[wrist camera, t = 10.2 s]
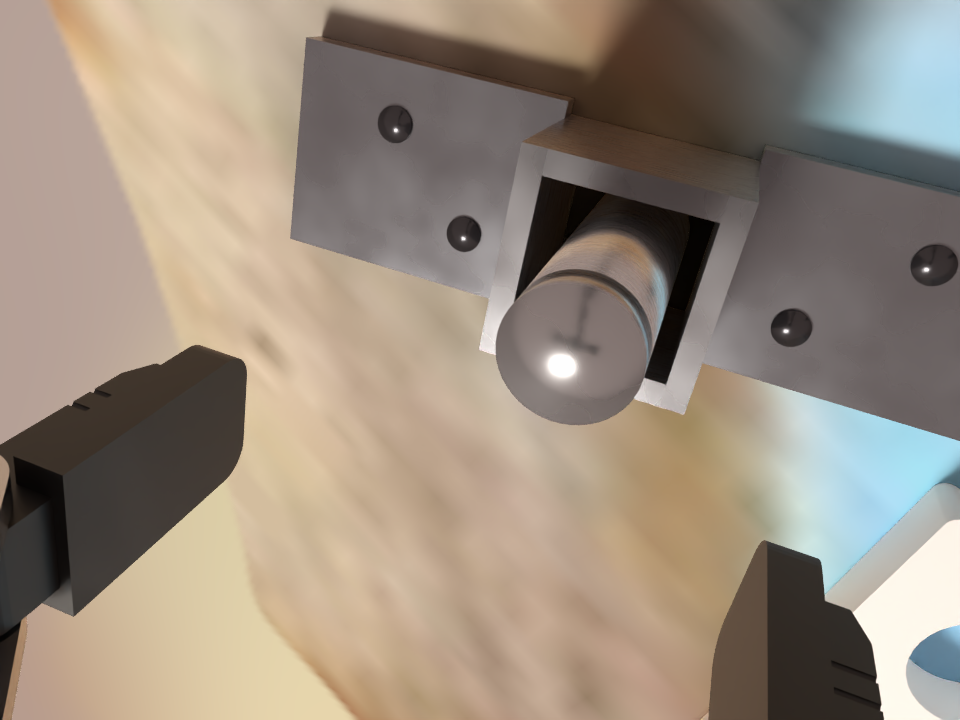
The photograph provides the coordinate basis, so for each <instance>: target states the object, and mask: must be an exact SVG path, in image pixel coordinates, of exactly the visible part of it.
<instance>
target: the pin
mask: <svg viewBox="0 0 960 720" xmlns="http://www.w3.org/2000/svg"><path fill="white" fill-rule="evenodd" d="M689 232H690V223H689V217H688V214H684V213H680V212H676V211H673V210H669V209H665V208H661V207H658V206H654V205H650V204H646V203H643V202H639V201H635V200H631V199H628V198H624V197H620V196H616V195H612V194H609V193H606V194H605V195H604V197H603V198H602V199H601V200H600V201H599V202H598V204H597V205H596V206H595V207H594V208H593V210H592V211H591V212H590V213H589V214H588V215H587V217H586V218H585V219H584V220H583V221H582V223H581V224H580V225H579V226H578V227H577V229H576V230H575V231H574V232H573V233H572V234H571V236H570V237H569V238H568V239H567V240H566V242H565V243H564V244H563V245H562V246H561V248H560V249H559V250H558V251H557V252H556V253H555V255H554V256H553V257H552V258H551V259H550V261H549V262H548V263H547V264H546V265H545V267H544V268H543V269H542V270H541V271H540V272H539V274H538V275H537V276H536V277H535V278H534V280H533V281H532V282H531V283H530V284H529V286H528V287H527V288H526V289H525V290H524V291H523V293H522V294H521V295H520V296H519V297H518V299H517V300H516V301H515V302H514V303H513V305H512V306H511V307H510V308H509V309H508V311H507V312H506V314H505V315H504V317H503V319H502V321H501V323H500V325H499V329H498V332H497V337H496V360H497V364H498V368H499V371H500V374H501V376H502V379H503V380H504V382H505V384H506V386H507V387H508V389H509V390H510V391H511V393H512V394H513V395H514V396H515V397H516V399H517V400H518V401H519V402H520V403H522V404H523V405H524V406H525V407H526V408H528V409H529V410H531V411H532V412H534V413H535V414H537V415H539V416H541V417H543V418H545V419H548V420H550V421H554V422H557V423H561V424H568V425H587V424H593V423H597V422H601V421H603V420H606V419H608V418H610V417H612V416H614V415H616V414H617V413H619V412H620V411H622V410H623V409H624V408H625V407H626V406H627V405H628V404H630V402H631V401H632V400H633V399H634V397H635V396H636V394H637V393H638V391H639V389H640V387H641V385H642V382H643V379H644V376H645V373H646V370H647V367H648V364H649V361H650V358H651V355H652V351H653V348H654V345H655V342H656V339H657V336H658V333H659V330H660V326H661V323H662V320H663V317H664V314H665V311H666V308H667V305H668V302H669V298H670V295H671V292H672V289H673V286H674V283H675V280H676V277H677V274H678V270H679V267H680V264H681V261H682V258H683V255H684V252H685V249H686V246H687V242H688V238H689Z"/></svg>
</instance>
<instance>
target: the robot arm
mask: <svg viewBox="0 0 960 720" xmlns="http://www.w3.org/2000/svg"><path fill="white" fill-rule="evenodd" d="M246 381H247V370H246V366H245V363H244V362H243V361H242V360H241V359H239V358H236V357H233V356H230V355H227V354H224V353H221V352H218V351H215V350H212V349H209V348H206V347H203V346H201V345H194V346H191V347H189V348H188V349H186V350H184V351H183V352H181V353H179V354H178V355H176V356H175V357H173V358H172V359H170V360H168V361H167V362H165V363H163V364H162V365H159V364H153V365H149V366H146V367H142V368H139V369H135V370H131V371H128V372H124V373H121V374H119V375H118V376H116V377H114V378H113V379H111V380H109V381H108V382H106V383H104V384H102V385H101V386H99V387H97V388H96V389H95V391H94V393H91V392H89V393H87V394H85V395H84V396H82V397H80V398H79V399H77V400H75V401H74V402H73V405H72V406H69V405H67V406H65V407H63V408H62V409H60V410H58V411H57V412H55V413H53V414H52V415H50V416H48V417H46V418H45V419H43V420H41V421H40V422H38V423H36V424H35V425H33V426H31V427H30V428H28V429H26V430H25V431H23V432H21V433H19V434H18V435H16V436H14V437H13V438H11V439H9V440H8V441H6V442H4V443H3V444H1V445H0V720H12V715H13V710H14V704H15V698H16V692H17V687H18V682H19V676H20V671H21V665H22V659H23V654H24V648H25V643H26V637H27V628H28V625H27V615H28V614H29V613H31V612H32V611H33V610H34V609H35V608H37V607H38V606H39V605H40V604H41V603H43V604H46V605H48V606H50V607H53V608H55V609H57V610H59V611H62V612H64V613H67V614H69V615H71V616H73V617H74V616H75V615H76V614H77V613H78V612H80V610H82V609H83V608H84V607H85V606H86V605H87V604H88V603H89V602H91V601H92V600H93V599H94V598H95V597H96V596H97V595H98V594H99V593H101V592H102V591H103V590H104V589H105V588H106V587H107V586H108V585H109V584H111V583H112V582H113V581H114V580H115V579H116V578H117V577H118V576H119V575H120V574H122V573H123V572H124V571H125V570H126V569H127V568H128V567H129V566H130V565H132V564H133V563H134V562H135V561H136V560H137V559H138V558H139V557H140V556H142V555H143V554H144V553H145V552H146V551H147V550H148V549H149V548H151V547H152V546H153V545H154V544H155V543H156V542H157V541H158V540H159V539H160V538H162V537H163V536H164V535H165V534H166V533H167V532H168V531H169V530H170V529H172V527H174V526H175V525H176V524H177V523H178V522H179V521H180V520H182V519H183V518H184V517H185V516H186V515H187V514H188V513H189V512H190V511H192V510H193V509H194V508H195V507H196V506H197V505H198V504H199V503H200V502H202V501H203V500H204V499H205V498H206V497H207V496H208V495H209V494H210V493H212V492H213V491H214V490H215V489H216V488H217V487H218V486H219V485H220V484H222V483H223V482H224V481H225V480H226V479H227V478H228V477H229V475H230V474H231V473H232V471H233V470H234V468H235V466H236V464H237V462H238V460H239V457H240V454H241V451H242V447H243V438H244V419H245V400H246ZM876 679H877V672H876V666H875V660H874V654H873V648H872V643H871V642H870V640H869V639H868V637H867V635H866V634H865V632H864V630H863V629H862V627H861V626H860V624H859V622H858V621H857V619H856V618H855V616H854V614H853V613H852V611H851V610H850V609H847V608H844V607H841V606H838V605H835V604H832V603H830V602H827V601H825V595H824V584H823V574H822V565H821V562H820V560H819V559H818V558H815V557H812V556H809V555H806V554H803V553H800V552H797V551H794V550H791V549H788V548H785V547H783V546H780V545H777V544H774V543H771V542H768V541H765V540H764V541H762V542H761V543H760V545H759V546H758V548H757V549H756V552H755V554H754V556H753V558H752V560H751V562H750V565H749V567H748V569H747V571H746V574H745V576H744V578H743V580H742V582H741V585H740V587H739V589H738V591H737V593H736V596H735V598H734V600H733V602H732V605H731V607H730V609H729V611H728V613H727V616H726V618H725V620H724V623H723V625H722V628H721V631H720V634H719V637H718V641H717V645H716V649H715V654H714V659H713V667H712V679H711V691H710V704H709V717H708V720H884V715H883V712H882V711H880V709H881V705H882V703H881V697H880V691H879V684H878V683H876Z"/></svg>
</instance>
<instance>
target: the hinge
mask: <svg viewBox="0 0 960 720" xmlns="http://www.w3.org/2000/svg"><path fill="white" fill-rule="evenodd" d="M574 101H575V98H572V97H568V96H564V95H560V94H556V93H551V92H547V91H543V90H539V89H535V88H531V87H527V86H523V85H519V84H514V83H510V82H506V81H502V80H498V79H494V78H490V77H486V76H481V75H477V74H473V73H469V72H465V71H461V70H457V69H453V68H449V67H444V66H440V65H436V64H432V63H428V62H424V61H420V60H416V59H412V58H407V57H403V56H399V55H395V54H391V53H387V52H383V51H379V50H374V49H370V48H366V47H362V46H358V45H354V44H350V43H346V42H342V41H337V40H333V39H329V38H325V37H306V48H305V60H304V73H303V85H302V98H301V111H300V123H299V136H298V148H297V161H296V174H295V186H294V199H293V211H292V224H291V237H290V239H294V240H297V241H300V242H304V243H307V244H310V245H314V246H317V247H320V248H323V249H327V250H330V251H333V252H337V253H340V254H343V255H347V256H350V257H353V258H357V259H360V260H363V261H366V262H370V263H373V264H376V265H380V266H383V267H386V268H390V269H393V270H396V271H400V272H403V273H406V274H409V275H413V276H416V277H419V278H423V279H426V280H429V281H433V282H436V283H439V284H443V285H446V286H449V287H452V288H456V289H459V290H462V291H466V292H469V293H472V294H476V295H479V296H482V297H486V298H489V303H488V308H487V312H486V317H485V322H484V327H483V332H482V337H481V341H480V346H479V350H481V351H485V352H488V353H491V354H494V355H496V337H497V332H498V329H499V325H500V323H501V321H502V319H503V317H504V315H505V314H506V312H507V311H508V309H509V308H510V307H511V306H512V305H513V303H514V302H515V301H516V300H517V299H518V297H519V296H520V295H521V294H522V293H523V291H524V290H525V289H526V288H527V287H528V286H529V284H530V283H531V282H532V281H533V280H534V278H535V277H536V276H537V275H538V274H539V272H540V271H541V270H542V269H543V268H544V267H545V265H546V264H547V263H548V262H549V261H550V259H551V258H552V257H553V256H554V255H555V253H556V252H557V251H558V250H559V249H560V248H561V246H562V242H563V238H564V234H565V230H566V226H567V222H568V218H569V214H570V210H571V206H572V201H573V197H574V193H575V189H576V185H579V186H582V187H586V188H590V189H594V190H597V191H601V192H605V193H609V194H612V195H616V196H620V197H624V198H628V199H631V200H635V201H639V202H643V203H646V204H650V205H654V206H658V207H661V208H665V209H669V210H673V211H676V212H680V213H684V214H688V215H692V216H695V217H699V218H703V219H707V220H710V221H714V222H715V223H714V226H713V229H712V232H711V235H710V238H709V241H708V244H707V247H706V250H705V253H704V256H703V259H702V262H701V265H700V268H699V271H698V274H697V278H696V281H695V284H694V287H693V290H692V293H691V296H690V299H689V302H688V305H687V308H686V311H683V310H679V309H676V308H672V307H669V306H667V308H666V311H665V314H664V317H663V320H662V323H661V326H660V330H659V333H658V336H657V339H656V342H655V345H654V348H653V351H652V355H651V358H650V361H649V364H648V367H647V370H646V373H645V376H644V379H643V382H642V385H641V387H640V389H639V391H638V393H637V394H636V396H635V397H634V399H636V400H639V401H642V402H645V403H649V404H652V405H655V406H658V407H661V408H664V409H668V410H671V411H674V412H677V413H680V414H683V415H684V413H685V411H686V408H687V405H688V402H689V399H690V396H691V394H692V391H693V388H694V385H695V382H696V379H697V377H698V374H699V371H700V368H701V365H702V363H704V364H707V365H710V366H714V367H717V368H720V369H724V370H727V371H730V372H734V373H737V374H740V375H743V376H747V377H750V378H753V379H757V380H760V381H763V382H767V383H770V384H773V385H777V386H780V387H783V388H786V389H790V390H793V391H796V392H800V393H803V394H806V395H810V396H813V397H816V398H820V399H823V400H826V401H829V402H833V403H836V404H839V405H843V406H846V407H849V408H853V409H856V410H859V411H863V412H866V413H869V414H872V415H876V416H879V417H882V418H886V419H889V420H892V421H896V422H899V423H902V424H906V425H909V426H912V427H915V428H919V429H922V430H925V431H929V432H932V433H935V434H939V435H942V436H945V437H949V438H952V439H955V440H958V441H960V192H959V191H955V190H951V189H947V188H943V187H938V186H934V185H930V184H926V183H922V182H918V181H914V180H910V179H906V178H901V177H897V176H893V175H889V174H885V173H881V172H877V171H873V170H868V169H864V168H860V167H856V166H852V165H848V164H844V163H840V162H836V161H831V160H827V159H823V158H819V157H815V156H811V155H807V154H803V153H798V152H794V151H790V150H786V149H782V148H778V147H774V146H770V145H765V148H764V151H763V154H762V156H761V159H760V161H758V160H754V159H750V158H746V157H742V156H738V155H734V154H730V153H726V152H722V151H718V150H714V149H710V148H706V147H702V146H698V145H694V144H690V143H686V142H682V141H678V140H674V139H669V138H665V137H661V136H657V135H653V134H649V133H645V132H641V131H637V130H633V129H629V128H625V127H621V126H617V125H613V124H609V123H605V122H601V121H597V120H593V119H589V118H585V117H581V116H577V115H572V109H573V105H574Z"/></svg>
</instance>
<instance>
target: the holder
mask: <svg viewBox="0 0 960 720" xmlns="http://www.w3.org/2000/svg"><path fill="white" fill-rule="evenodd" d="M825 601H827V602H830V603H832V604H835V605H838V606H841V607H844V608H847V609H850V610H851V611H852V613H853V614H854V616H855V618H856V619H857V621H858V622H859V624H860V626H861V627H862V629H863V630H864V632H865V634H866V635H867V637H868V639H869V640H870V642H871V643H872V648H873V654H874V660H875V666H876V672H877V679H876V683H878V684H879V691H880V697H881V703H882V705H881V709H880V711H882V712H883V715H884V720H960V683H959V682H954V681H949V680H945V679H942V678H940V677H937V676H934V675H932V674H930V673H928V672H926V671H924V670H923V669H921V668H920V667H919V666H917V665H916V664H915V663H914V662H913V661H911V660H910V659H909V656H910V655H911V653H912V651H913V650H914V649H915V647H916V646H917V645H918V644H919V643H920V642H921V641H923V640H924V639H925V638H927V637H928V636H930V635H931V634H933V633H935V632H937V631H940V630H942V629H945V628H948V627H952V626H956V625H960V489H959V488H958V487H956V486H954V485H952V484H949V483H940V484H937V485H935V486H933V487H932V488H931V489H930V490H929V491H928V492H927V493H926V494H925V495H924V496H923V497H922V498H921V499H920V500H919V501H918V502H917V503H916V504H915V505H914V506H913V507H912V508H911V509H910V510H909V511H908V512H907V513H906V514H905V515H904V516H903V517H902V518H901V519H900V520H899V521H898V522H897V523H896V524H895V525H894V526H893V527H892V528H891V529H890V530H889V531H888V532H887V533H886V534H885V535H884V536H883V537H882V538H881V539H880V540H879V541H878V542H877V543H876V544H875V545H874V546H873V547H872V548H871V549H870V550H869V551H868V552H867V553H866V554H865V555H864V556H863V557H862V558H861V559H860V560H859V561H858V562H857V563H856V564H855V565H854V566H853V567H852V568H851V569H850V570H849V571H848V572H847V573H846V574H845V575H844V576H843V577H842V578H841V579H840V580H839V581H838V582H837V583H836V584H835V585H834V586H833V587H832V588H831V589H830V590H829V591H828V592H827V593H826V594H825ZM708 717H709V712H708V713H707V714H706V715H705V716H704V717H703V718H702V719H701V720H708Z"/></svg>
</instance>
